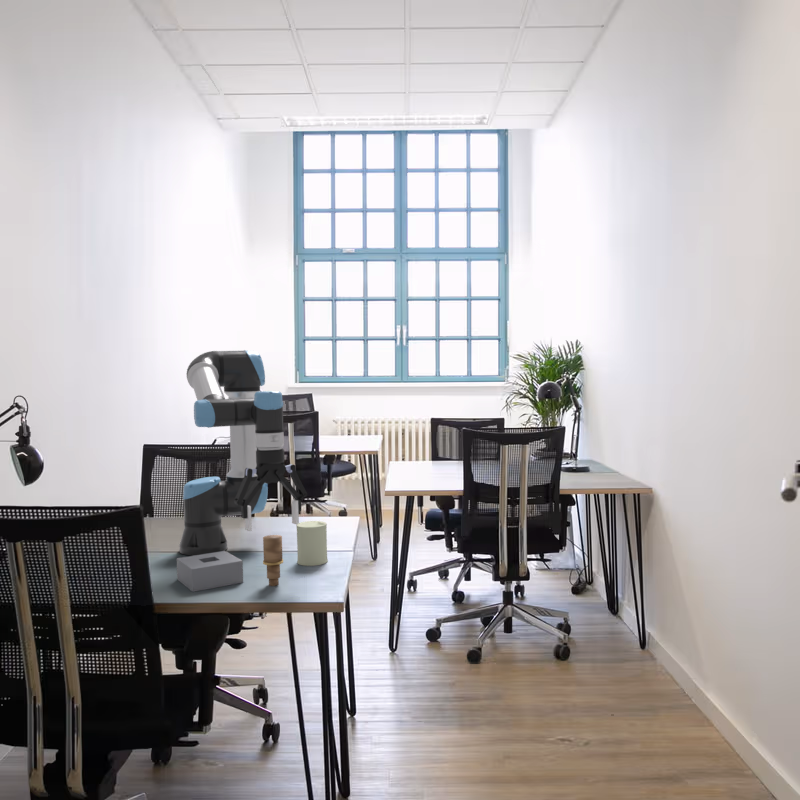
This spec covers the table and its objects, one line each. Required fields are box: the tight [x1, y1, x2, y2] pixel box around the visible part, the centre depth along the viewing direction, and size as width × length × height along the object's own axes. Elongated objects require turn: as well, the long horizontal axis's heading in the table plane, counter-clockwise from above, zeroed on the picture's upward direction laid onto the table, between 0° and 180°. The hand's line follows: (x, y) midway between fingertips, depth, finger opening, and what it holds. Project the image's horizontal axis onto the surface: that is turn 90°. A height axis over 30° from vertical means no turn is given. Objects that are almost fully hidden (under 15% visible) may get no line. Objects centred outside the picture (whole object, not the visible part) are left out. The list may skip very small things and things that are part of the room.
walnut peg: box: [262, 534, 284, 587], centre depth 199 cm, size 5×5×13 cm
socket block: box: [176, 550, 244, 593], centre depth 204 cm, size 14×14×6 cm
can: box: [295, 520, 329, 567], centre depth 222 cm, size 9×9×12 cm
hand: (272, 527), depth 198 cm, fingers open, 13 cm apart
